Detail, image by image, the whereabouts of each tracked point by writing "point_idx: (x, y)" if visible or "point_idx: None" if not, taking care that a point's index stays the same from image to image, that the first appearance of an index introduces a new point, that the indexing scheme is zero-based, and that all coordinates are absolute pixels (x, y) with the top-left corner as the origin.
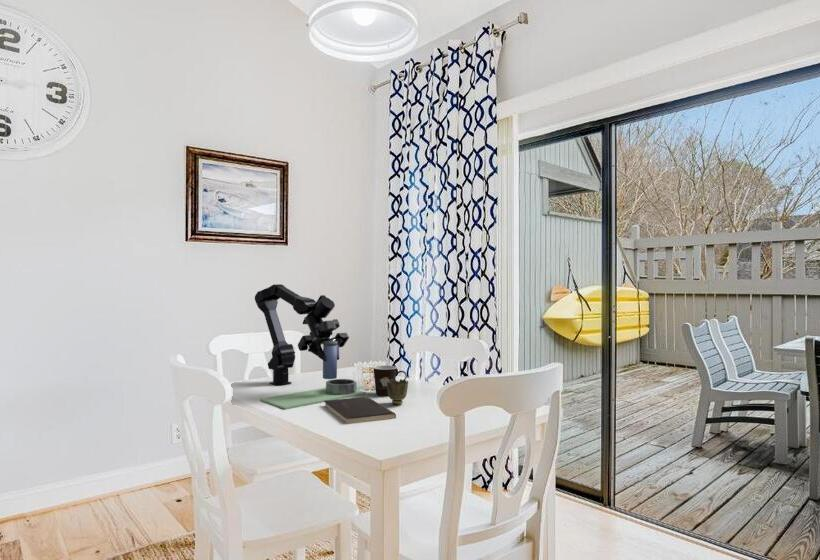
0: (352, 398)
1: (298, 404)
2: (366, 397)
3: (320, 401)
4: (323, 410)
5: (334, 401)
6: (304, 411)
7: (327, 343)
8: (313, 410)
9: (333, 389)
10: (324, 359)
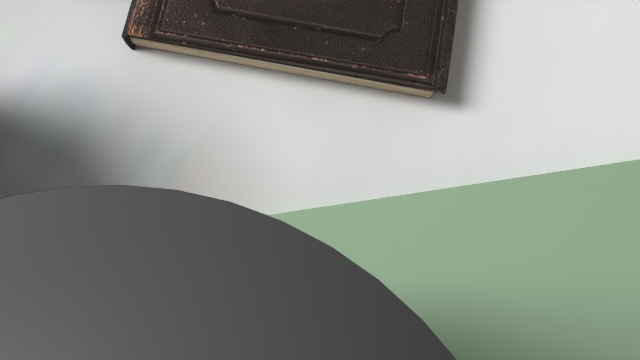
0: (245, 42)
1: (595, 179)
2: (147, 14)
3: (421, 193)
4: (483, 13)
5: (394, 34)
6: (592, 52)
7: (429, 342)
8: (536, 43)
9: None
10: None
